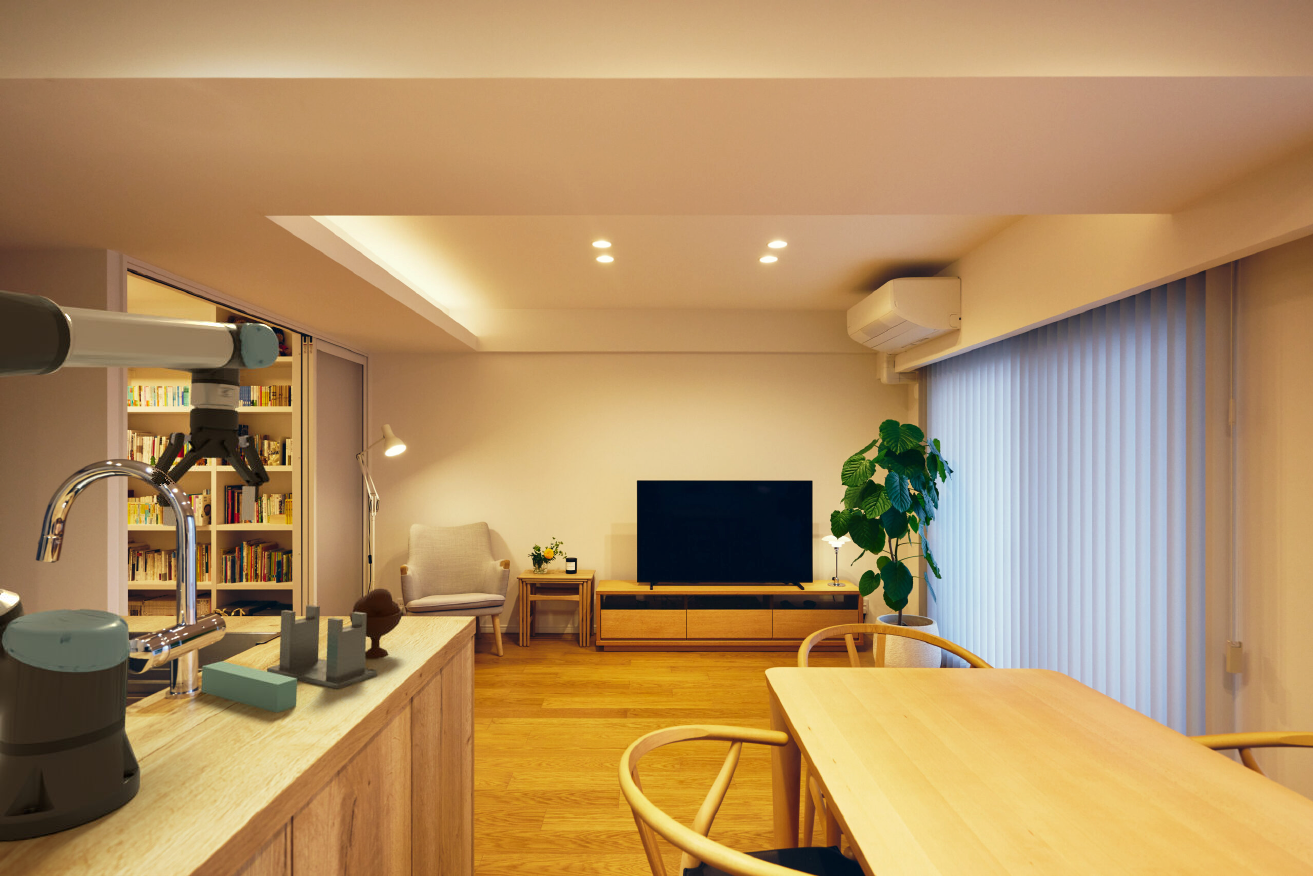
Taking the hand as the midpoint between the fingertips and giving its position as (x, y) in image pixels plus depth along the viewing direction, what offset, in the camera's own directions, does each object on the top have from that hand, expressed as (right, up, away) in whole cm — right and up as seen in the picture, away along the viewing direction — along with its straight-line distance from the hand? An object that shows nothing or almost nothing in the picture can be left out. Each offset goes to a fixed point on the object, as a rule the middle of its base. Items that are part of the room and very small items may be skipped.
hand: (210, 522), depth 118 cm
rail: (+8, -32, -2) cm, 33 cm away
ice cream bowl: (+20, -33, +25) cm, 46 cm away
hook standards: (+15, -32, +11) cm, 37 cm away
